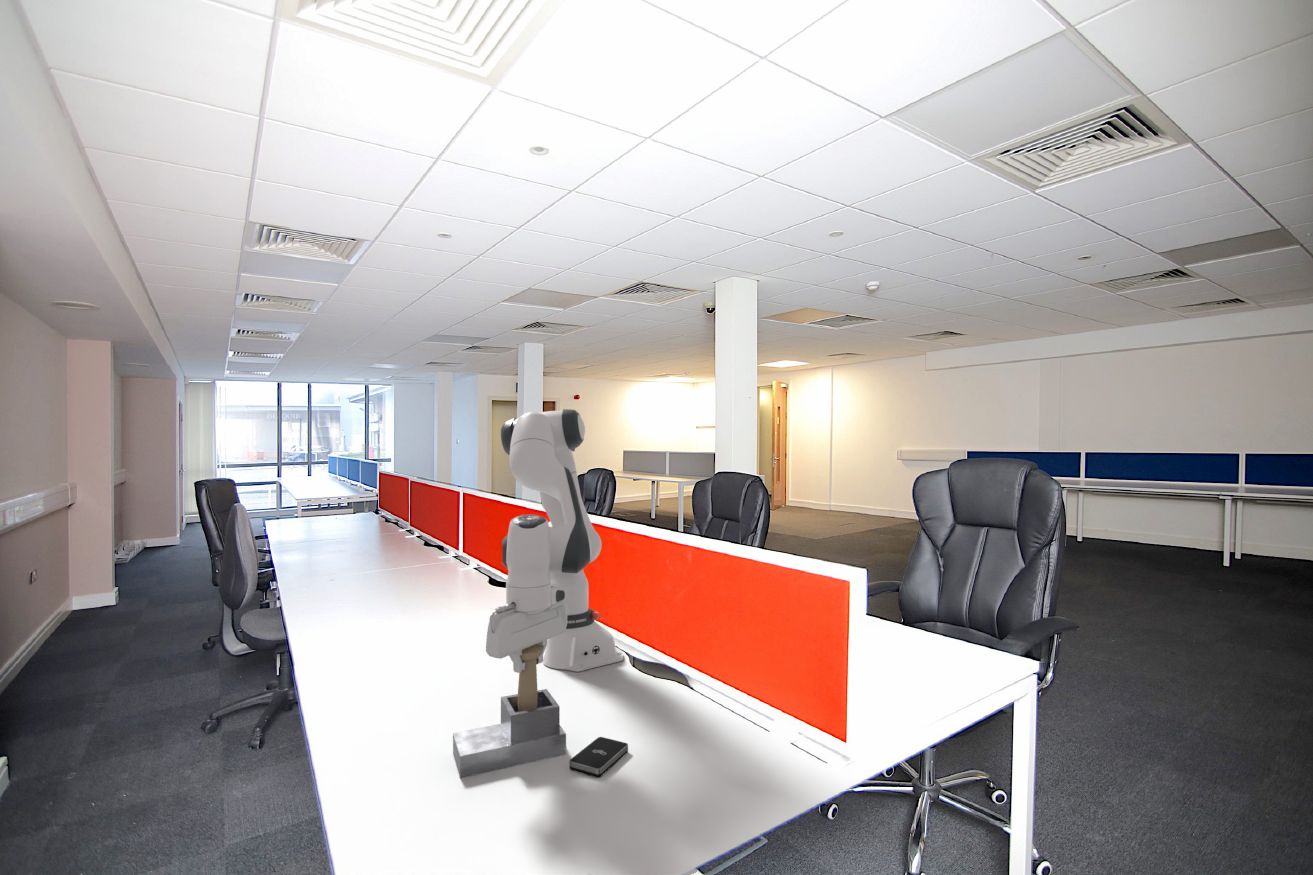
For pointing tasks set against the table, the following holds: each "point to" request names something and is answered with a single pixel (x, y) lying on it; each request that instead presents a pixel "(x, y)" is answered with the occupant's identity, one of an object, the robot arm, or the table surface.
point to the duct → (511, 738)
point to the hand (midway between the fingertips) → (528, 666)
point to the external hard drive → (598, 757)
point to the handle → (528, 679)
